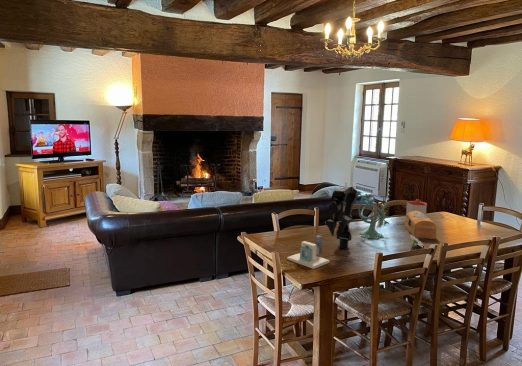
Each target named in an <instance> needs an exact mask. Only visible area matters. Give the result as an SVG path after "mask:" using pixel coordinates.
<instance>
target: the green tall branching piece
mask: <svg viewBox="0 0 522 366" xmlns="http://www.w3.org/2000/svg"><path fill="white" fill-rule="evenodd" d="M357 192H358V196H361V201H360V202H359V205H358V215H359V218H360V219H361V221H362V222H364V223H367V224H369V227H368V229H366V230H365V231H364V232H360V233H358V234H359V235H360V237H361V238H365V239H368V240H380V239H384V238H385V236H384V235H383V234H382V233H378V231H377V230H376V229H375V226H374V224H375V223H377V222H378V221H380V220H383V225H384V227H386V225H390V222H389V221H387V220H385V219H386V218H387V217H386V216H387V214H385V213H384V212H383V211H384V210H385V208H386V205H387V202H385V203H384V205H383V206H382V208H379V207H378V206H377V205H376V204H375V203H374V201H375V198H372V199H369V198H368V193H365V194H364V195H365V196H363V194H361V193H362V192H361V191H359V190H357ZM362 204H365V205H364V206H363V207H362ZM361 207H362V209H361ZM366 207H367V208H368V209H369V210H370V211H372V213H374V214H373V215H371V216H365V215H363V214H364V210H365V209H366ZM375 208H376V209H375ZM375 217H379V218H377V219H375V220H374V218H375ZM368 219H369V220H368Z"/></svg>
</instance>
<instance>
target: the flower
mask: <svg viewBox="0 0 522 366" xmlns="http://www.w3.org/2000/svg"><path fill="white" fill-rule="evenodd" d="M409 237H410V239H411V240H412V241H413V244H412V245H411V247H412V246H413V247H414V245H415V244H416V245H418V246H419V247H421V248H423V246H424V244H423V242H422V241H420V240H419V238H415V236H414V237H413V235H412V234H411V233H409ZM422 245H423V246H422ZM423 249H424V248H423ZM410 251H411V252H412V249H411V250H410V249H409V252H410Z"/></svg>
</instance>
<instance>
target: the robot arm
mask: <svg viewBox="0 0 522 366" xmlns="http://www.w3.org/2000/svg"><path fill="white" fill-rule="evenodd" d="M358 199H359V195H358V190H356V189H355V188H354V186H353V185H349V184H347V185H345V186H343V187H342V188H340V189H334V190H333V192H332V194H331V199H330V202H331V204H330V205H329V206H328V211H329V213H330V214H333V216H332V218H331V219H328V220H325V223H324V225H325V226H327V228H328V229H329V232H330V235H331V236H332V237H334V235H336V239H337V240H339V245H337V248H339V250H350V247H349V241H352V237H353V236H352V233H351V228H350V226H349V225H350V223H351V222H352V221H353V215H352V211H353V206H354V204H356V202H357V200H358ZM344 202H345V205H344ZM337 225H338V227H337ZM336 228H337V230H336V234H335V229H336Z"/></svg>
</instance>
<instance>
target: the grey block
mask: <svg viewBox="0 0 522 366" xmlns="http://www.w3.org/2000/svg"><path fill="white" fill-rule="evenodd" d="M314 240H315V242H313V244H316V256H321V255H323V251H322V250H323V236H322V235H315V239H314ZM307 248H309V246H307Z"/></svg>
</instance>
